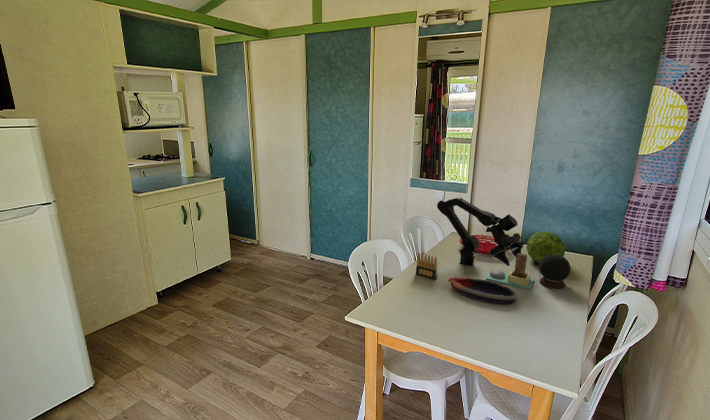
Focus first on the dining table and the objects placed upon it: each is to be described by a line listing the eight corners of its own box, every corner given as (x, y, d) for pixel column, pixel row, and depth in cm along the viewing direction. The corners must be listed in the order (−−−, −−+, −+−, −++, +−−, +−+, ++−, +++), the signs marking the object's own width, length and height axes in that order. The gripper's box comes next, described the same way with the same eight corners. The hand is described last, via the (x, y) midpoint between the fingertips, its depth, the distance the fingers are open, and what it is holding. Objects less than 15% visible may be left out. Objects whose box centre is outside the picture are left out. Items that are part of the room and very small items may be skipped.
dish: (512, 312, 154) (514, 301, 153) (442, 292, 171) (443, 282, 170) (521, 297, 167) (522, 287, 165) (454, 280, 184) (455, 270, 182)
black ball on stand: (536, 286, 177) (540, 256, 173) (537, 276, 188) (541, 248, 184) (568, 292, 171) (573, 262, 167) (567, 281, 182) (572, 252, 179)
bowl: (504, 264, 203) (505, 255, 202) (452, 253, 219) (452, 245, 217) (515, 248, 227) (516, 240, 226) (467, 239, 243) (467, 232, 241)
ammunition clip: (436, 278, 184) (438, 256, 181) (435, 280, 183) (436, 257, 180) (417, 273, 190) (418, 251, 187) (415, 274, 189) (416, 252, 186)
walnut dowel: (512, 280, 180) (515, 255, 177) (514, 277, 184) (517, 252, 181) (523, 283, 178) (526, 257, 175) (524, 279, 182) (527, 254, 178)
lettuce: (566, 260, 210) (564, 228, 210) (566, 268, 189) (563, 232, 189) (529, 260, 219) (527, 229, 219) (526, 267, 199) (523, 233, 198)
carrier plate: (485, 279, 184) (486, 272, 183) (491, 271, 193) (492, 264, 192) (529, 290, 173) (531, 282, 172) (533, 280, 183) (534, 273, 182)
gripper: (497, 230, 177) (513, 260, 171) (523, 225, 186) (540, 253, 180) (482, 241, 186) (498, 270, 179) (508, 235, 195) (523, 263, 188)
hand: (515, 263), depth 181 cm, fingers open, 9 cm apart
